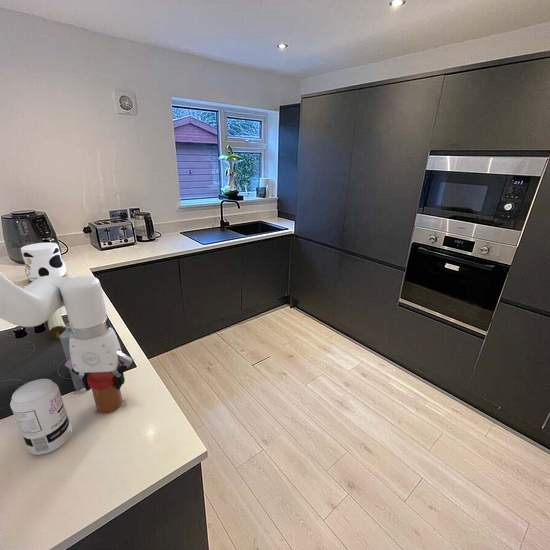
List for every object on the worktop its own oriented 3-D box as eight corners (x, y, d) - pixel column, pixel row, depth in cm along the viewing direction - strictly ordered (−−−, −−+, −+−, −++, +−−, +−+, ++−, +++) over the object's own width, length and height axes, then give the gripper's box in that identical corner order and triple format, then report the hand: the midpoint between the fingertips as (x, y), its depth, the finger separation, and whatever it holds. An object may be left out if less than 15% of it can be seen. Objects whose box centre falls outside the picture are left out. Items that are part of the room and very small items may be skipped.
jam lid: (123, 370, 77) (122, 364, 77) (111, 389, 71) (110, 383, 70) (96, 371, 77) (95, 365, 76) (82, 390, 71) (81, 384, 70)
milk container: (19, 282, 149) (8, 249, 143) (51, 271, 165) (42, 240, 158) (46, 286, 146) (36, 252, 139) (75, 274, 161) (68, 243, 155)
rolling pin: (47, 309, 124) (44, 299, 122) (63, 306, 127) (60, 296, 125) (50, 346, 100) (46, 334, 98) (69, 340, 103) (66, 329, 101)
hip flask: (90, 356, 96) (77, 302, 88) (104, 354, 97) (91, 301, 89) (73, 390, 81) (54, 330, 74) (89, 388, 82) (72, 328, 75)
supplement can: (28, 437, 68) (7, 387, 62) (70, 419, 73) (54, 371, 67) (29, 464, 62) (7, 411, 56) (74, 442, 67) (58, 392, 61)
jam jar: (92, 414, 74) (84, 385, 71) (103, 396, 80) (96, 368, 76) (116, 413, 75) (110, 384, 71) (126, 395, 80) (120, 368, 77)
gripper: (41, 337, 64) (61, 398, 71) (122, 335, 65) (134, 395, 72) (61, 320, 71) (78, 377, 78) (134, 318, 72) (144, 375, 79)
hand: (105, 385), depth 75 cm, fingers closed on jam lid, 6 cm apart
